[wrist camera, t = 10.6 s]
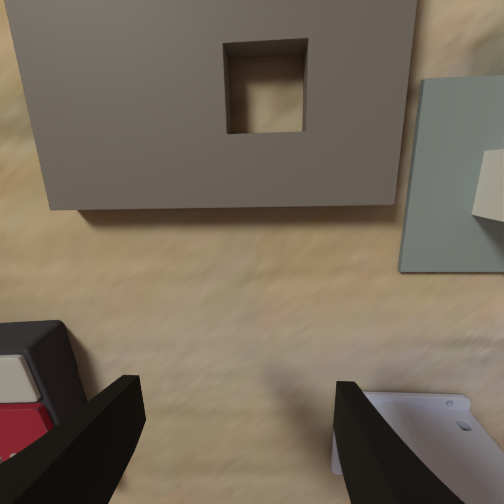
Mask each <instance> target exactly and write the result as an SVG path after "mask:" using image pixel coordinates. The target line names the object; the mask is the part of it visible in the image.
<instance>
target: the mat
mask: <svg viewBox="0 0 504 504" xmlns="http://www.w3.org/2000/svg"><path fill="white" fill-rule="evenodd" d="M499 149H504V75H494V76H473V77H452V78H431V79H424V80H422V81H421V86H420V94H419V102H418V110H417V118H416V126H415V134H414V142H413V150H412V158H411V167H410V175H409V183H408V191H407V199H406V207H405V215H404V223H403V231H402V239H401V247H400V255H399V263H398V270H399V271H400V272H504V222H502V221H498V220H493V219H489V218H484V217H480V216H476V215H472V210H473V205H474V200H475V195H476V191H477V186H478V181H479V176H480V171H481V166H482V161H483V156H484V151H488V150H499Z"/></svg>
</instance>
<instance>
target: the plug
mask: <svg viewBox="0 0 504 504" xmlns="http://www.w3.org/2000/svg"><path fill="white" fill-rule="evenodd" d="M472 215H476V216H480V217H484V218H489V219H493V220H498V221H502V222H504V149H499V150H488V151H484V156H483V161H482V166H481V171H480V176H479V181H478V186H477V191H476V195H475V200H474V205H473V210H472Z"/></svg>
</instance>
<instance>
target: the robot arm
mask: <svg viewBox="0 0 504 504" xmlns="http://www.w3.org/2000/svg"><path fill="white" fill-rule="evenodd" d="M447 401H448V402H447ZM470 406H471V401H470V399H469V398H468V397H467V396H466V395H461V394H429V393H397V392H365V391H362V390H361V389H360V388H359V386H358V385H357V384H356V383H355V382H351V381H337V382H336V396H335V411H334V425H333V441H332V455H331V470H332V472H333V473H334V474H336V475H343V476H344V480H345V483H346V487H347V491H348V494H349V498H350V501H351V504H504V452H503V451H502V450H501V449H500V447H499V446H498V445H497V444H496V443H495V441H494V440H493V439H492V438H491V436H490V435H489V434H488V433H487V432H486V430H485V429H484V428H483V427H482V425H481V424H480V423H479V422H478V420H477V419H476V418H475V417H474V416H473V414H472V413H471V412H470V411H469V410H470ZM145 421H146V416H145V409H144V403H143V397H142V391H141V384H140V378H139V375H123V376H121V377H120V378H118V379H117V380H116V381H114V382H113V383H112V384H110V385H109V386H108V387H107V388H105V389H104V390H103V391H101V392H100V393H99V394H98V395H96V396H95V397H94V398H92V399H91V400H90V401H89V402H87V403H86V404H85V405H83V406H82V407H81V408H79V409H78V410H77V411H76V412H74V413H73V414H72V415H70V416H69V417H68V418H66V419H65V420H64V421H62V422H61V423H59V424H58V425H57V426H55V427H54V428H52V429H51V430H50V431H48V432H47V433H45V434H44V435H43V436H41V437H40V438H39V439H37V440H36V441H34V442H33V443H31V444H30V445H29V446H27V447H26V448H24V449H23V450H21V451H20V452H18V453H17V454H15V455H13V456H12V457H10V458H9V459H7V460H6V461H4V462H2V463H1V464H0V504H108V503H109V501H110V499H111V497H112V495H113V493H114V491H115V489H116V487H117V485H118V483H119V481H120V479H121V477H122V475H123V473H124V471H125V469H126V467H127V465H128V463H129V461H130V459H131V457H132V455H133V453H134V451H135V448H136V446H137V443H138V441H139V438H140V435H141V433H142V430H143V427H144V424H145Z"/></svg>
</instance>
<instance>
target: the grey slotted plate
mask: <svg viewBox="0 0 504 504" xmlns="http://www.w3.org/2000/svg"><path fill="white" fill-rule="evenodd" d="M4 3H5V7H6V12H7V16H8V21H9V25H10V30H11V34H12V39H13V43H14V48H15V53H16V57H17V62H18V66H19V71H20V75H21V80H22V84H23V89H24V93H25V98H26V102H27V107H28V112H29V116H30V121H31V125H32V130H33V134H34V139H35V143H36V148H37V152H38V157H39V162H40V166H41V171H42V175H43V180H44V184H45V189H46V193H47V198H48V202H49V207H50V210H103V209H166V208H228V207H291V206H354V205H394V203H395V194H396V185H397V176H398V168H399V159H400V150H401V141H402V132H403V123H404V114H405V106H406V97H407V88H408V79H409V70H410V61H411V52H412V43H413V35H414V26H415V17H416V8H417V0H4ZM294 54H304V81H303V126H302V132H278V133H249V134H232V131H231V106H230V82H229V58H239V57H258V56H276V55H294Z"/></svg>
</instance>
